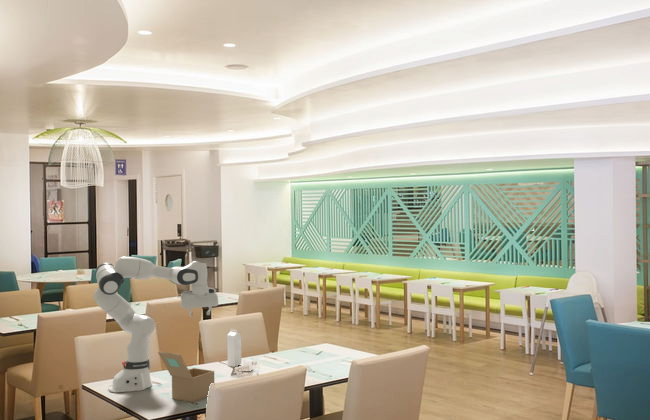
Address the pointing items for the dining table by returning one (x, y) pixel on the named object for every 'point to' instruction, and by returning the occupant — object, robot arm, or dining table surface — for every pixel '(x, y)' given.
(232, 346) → the milk
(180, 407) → the dining table surface
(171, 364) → the lid flap
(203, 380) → the carton
